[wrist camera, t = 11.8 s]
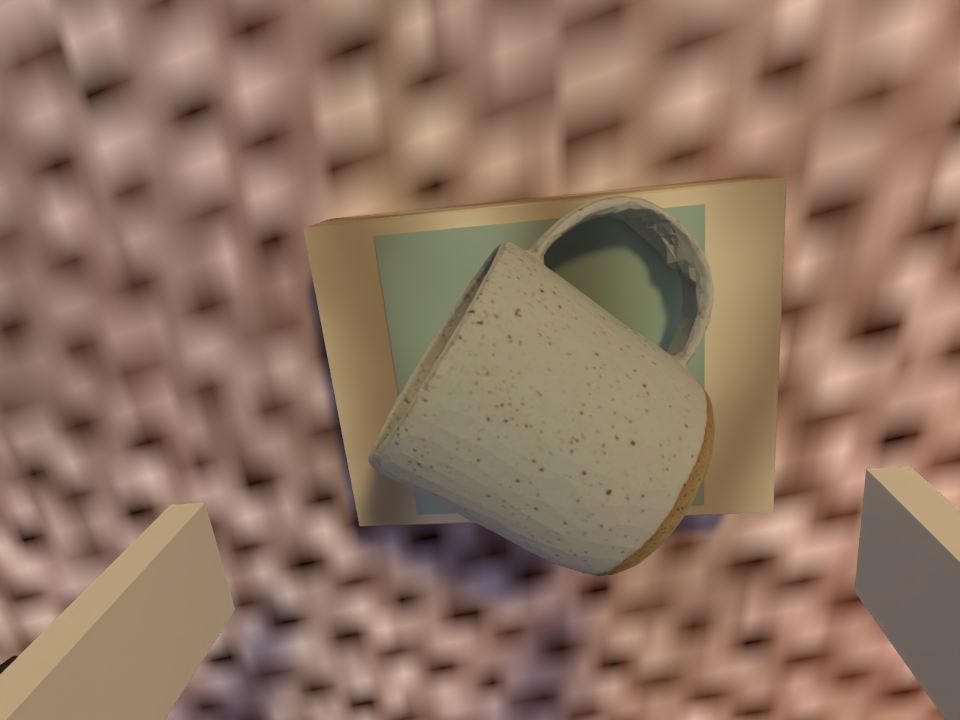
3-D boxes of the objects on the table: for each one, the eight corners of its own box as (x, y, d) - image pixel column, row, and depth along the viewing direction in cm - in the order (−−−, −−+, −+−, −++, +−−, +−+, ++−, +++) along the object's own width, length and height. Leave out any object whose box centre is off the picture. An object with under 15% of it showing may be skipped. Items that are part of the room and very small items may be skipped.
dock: (378, 488, 29) (358, 527, 26) (331, 219, 25) (302, 228, 22) (749, 473, 26) (773, 513, 24) (757, 175, 23) (788, 179, 20)
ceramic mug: (581, 508, 24) (597, 659, 17) (396, 398, 24) (330, 506, 16) (761, 275, 21) (878, 337, 14) (553, 140, 20) (558, 130, 13)
